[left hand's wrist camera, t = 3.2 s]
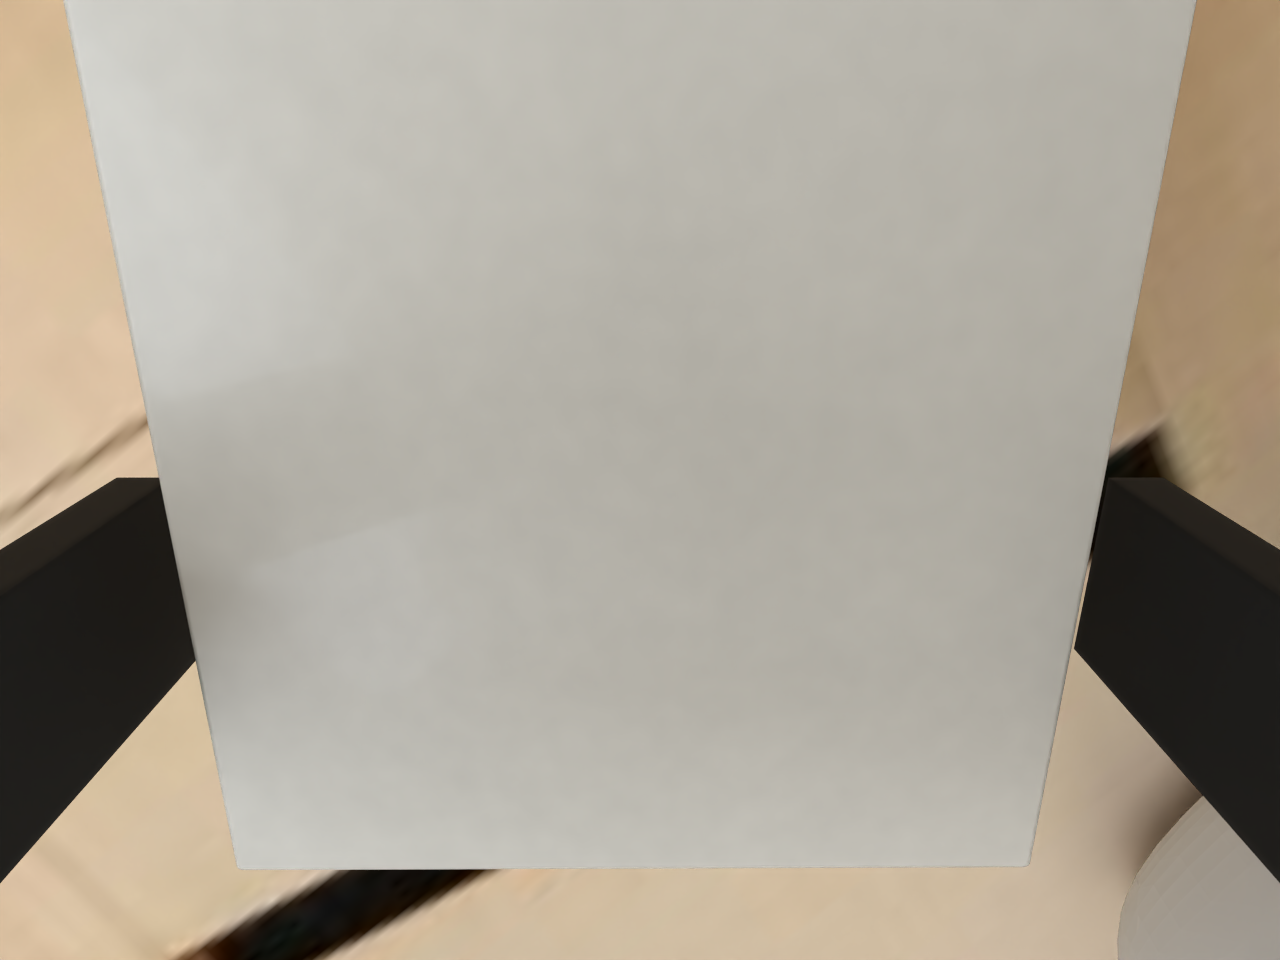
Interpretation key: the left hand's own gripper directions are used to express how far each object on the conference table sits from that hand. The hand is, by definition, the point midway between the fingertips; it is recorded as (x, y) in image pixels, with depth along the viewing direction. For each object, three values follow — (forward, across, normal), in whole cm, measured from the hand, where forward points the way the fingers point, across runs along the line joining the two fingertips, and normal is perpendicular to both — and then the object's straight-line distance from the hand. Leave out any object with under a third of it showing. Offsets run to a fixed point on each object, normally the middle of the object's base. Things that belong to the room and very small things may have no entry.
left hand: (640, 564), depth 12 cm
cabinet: (+9, 0, -5) cm, 10 cm away
